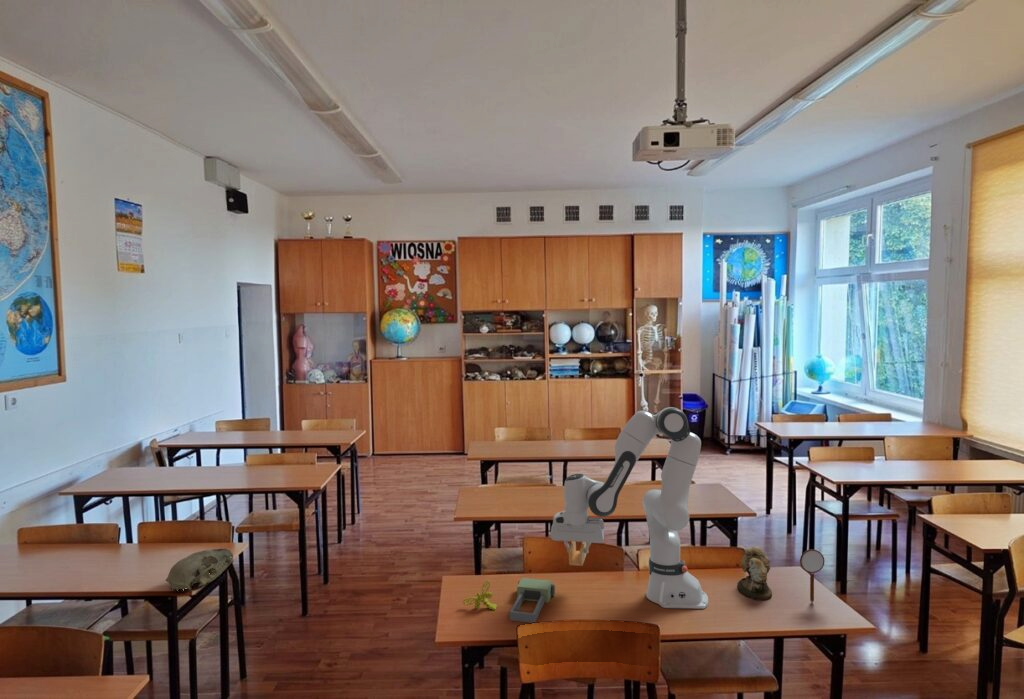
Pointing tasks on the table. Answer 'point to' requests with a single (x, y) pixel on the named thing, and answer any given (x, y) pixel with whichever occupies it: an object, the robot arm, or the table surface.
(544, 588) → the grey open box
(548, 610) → the table surface
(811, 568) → the magnifying glass
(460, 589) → the table surface
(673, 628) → the table surface
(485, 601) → the decorative insect
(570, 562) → the chute
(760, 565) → the stone bust
